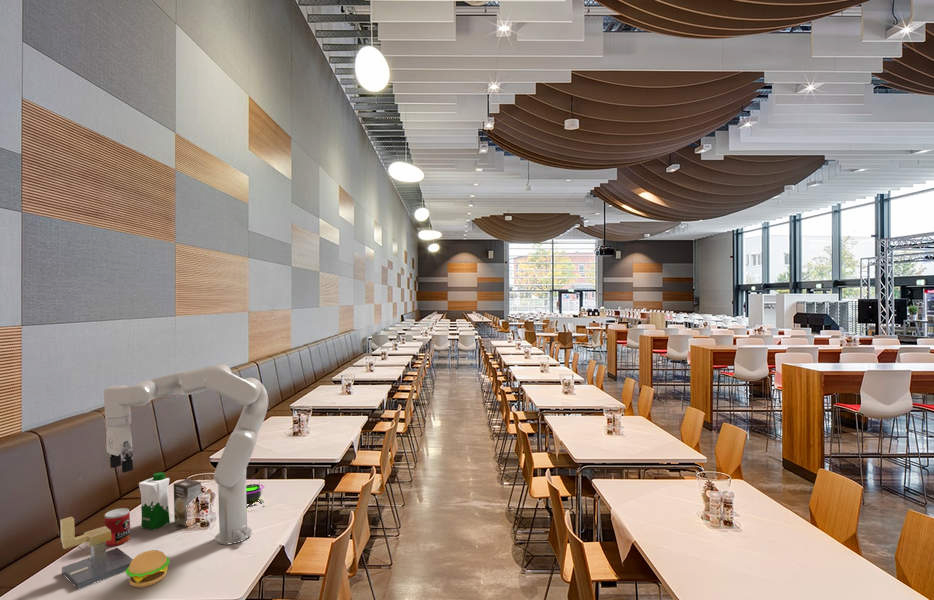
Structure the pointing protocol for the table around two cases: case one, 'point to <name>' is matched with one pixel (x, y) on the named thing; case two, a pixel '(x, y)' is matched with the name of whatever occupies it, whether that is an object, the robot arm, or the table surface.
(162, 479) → the milk carton
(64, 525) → the wooden zigzag joint
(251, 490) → the toy cauldron
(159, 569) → the hamburger
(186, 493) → the coffee box
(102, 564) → the grey slotted plate
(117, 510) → the canned food
